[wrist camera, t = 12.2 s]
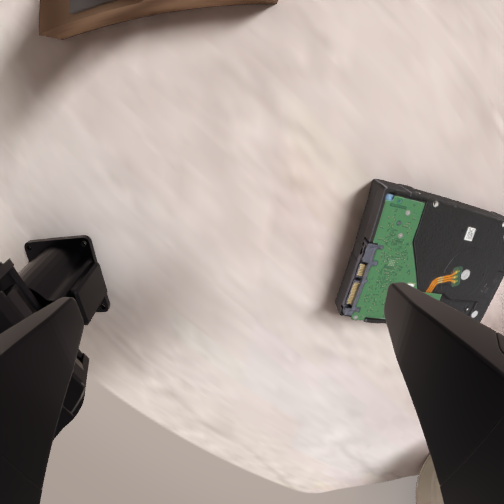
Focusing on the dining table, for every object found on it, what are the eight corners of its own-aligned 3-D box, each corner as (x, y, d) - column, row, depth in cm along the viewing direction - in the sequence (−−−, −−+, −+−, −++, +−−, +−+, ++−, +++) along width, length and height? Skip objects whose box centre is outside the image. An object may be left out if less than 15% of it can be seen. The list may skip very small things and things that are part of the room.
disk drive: (505, 213, 22) (368, 175, 21) (525, 225, 19) (384, 186, 18) (465, 310, 26) (332, 303, 25) (479, 327, 24) (340, 325, 23)
